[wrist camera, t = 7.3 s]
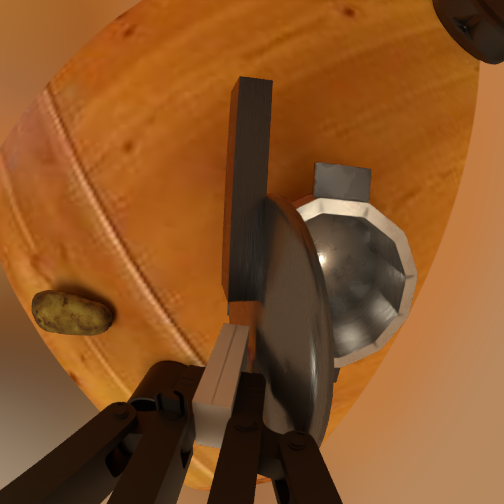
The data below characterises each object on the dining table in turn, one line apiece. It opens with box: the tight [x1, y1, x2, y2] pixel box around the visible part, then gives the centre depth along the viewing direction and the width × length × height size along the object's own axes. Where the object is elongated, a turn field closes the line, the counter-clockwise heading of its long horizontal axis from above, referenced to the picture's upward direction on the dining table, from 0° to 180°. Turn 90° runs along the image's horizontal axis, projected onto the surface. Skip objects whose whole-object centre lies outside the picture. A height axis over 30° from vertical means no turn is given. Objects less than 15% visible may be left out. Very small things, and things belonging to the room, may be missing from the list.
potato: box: [32, 290, 113, 336], centre depth 35 cm, size 8×13×8 cm, turn 63°
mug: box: [127, 361, 187, 412], centre depth 35 cm, size 9×12×9 cm
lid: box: [222, 76, 334, 448], centre depth 16 cm, size 17×22×3 cm
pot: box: [227, 162, 418, 382], centre depth 29 cm, size 17×22×9 cm
